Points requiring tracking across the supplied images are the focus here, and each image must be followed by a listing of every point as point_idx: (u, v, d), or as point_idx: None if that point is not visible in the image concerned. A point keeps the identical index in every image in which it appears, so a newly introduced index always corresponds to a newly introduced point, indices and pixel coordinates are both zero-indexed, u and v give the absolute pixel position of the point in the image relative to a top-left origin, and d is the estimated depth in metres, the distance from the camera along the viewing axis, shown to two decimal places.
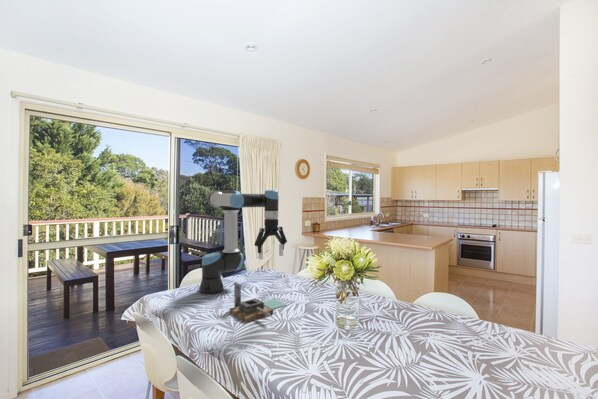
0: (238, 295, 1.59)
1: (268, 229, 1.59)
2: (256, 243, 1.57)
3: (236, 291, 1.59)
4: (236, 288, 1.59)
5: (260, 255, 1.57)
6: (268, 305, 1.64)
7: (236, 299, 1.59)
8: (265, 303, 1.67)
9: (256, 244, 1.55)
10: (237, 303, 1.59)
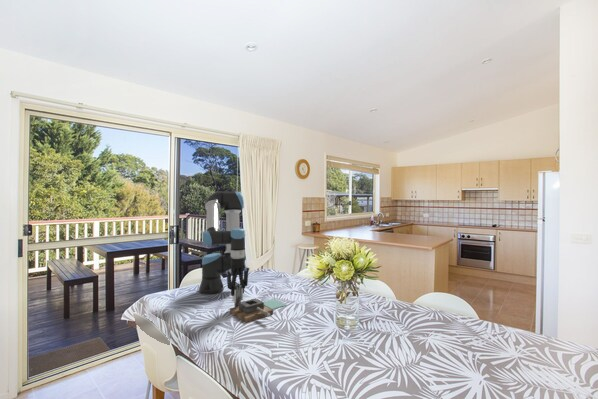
0: (238, 295, 1.59)
1: (234, 269, 1.58)
2: None
3: (236, 291, 1.59)
4: (236, 288, 1.59)
5: (233, 298, 1.59)
6: (268, 305, 1.64)
7: (236, 299, 1.59)
8: (265, 303, 1.67)
9: (229, 288, 1.57)
10: (237, 303, 1.59)
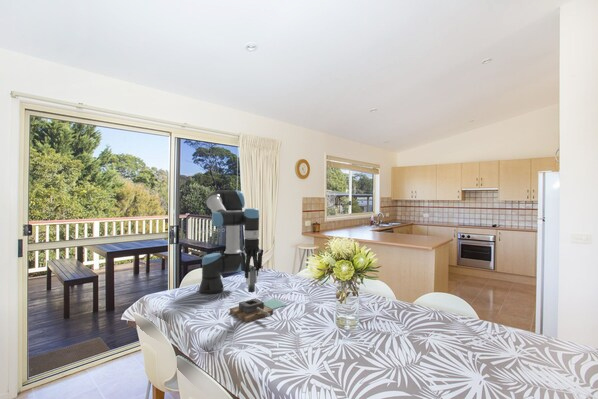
0: (252, 278, 1.52)
1: (248, 250, 1.51)
2: None
3: (250, 273, 1.52)
4: (250, 270, 1.52)
5: (247, 280, 1.52)
6: (268, 305, 1.64)
7: (250, 282, 1.52)
8: (265, 303, 1.67)
9: (243, 270, 1.49)
10: (251, 286, 1.52)
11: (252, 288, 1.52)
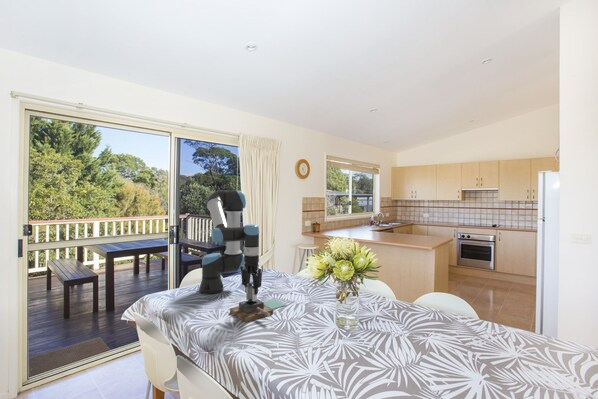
0: (248, 294, 1.52)
1: (246, 265, 1.54)
2: None
3: (248, 289, 1.53)
4: (248, 286, 1.53)
5: None
6: (268, 305, 1.64)
7: (248, 298, 1.53)
8: (265, 303, 1.67)
9: (242, 283, 1.56)
10: (248, 302, 1.53)
11: None
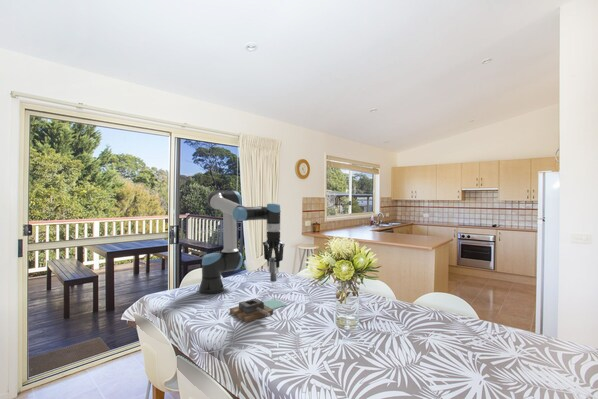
0: (271, 268, 1.65)
1: (268, 241, 1.66)
2: (267, 256, 1.69)
3: None
4: None
5: None
6: (268, 305, 1.64)
7: (270, 271, 1.66)
8: (265, 303, 1.67)
9: None
10: (270, 275, 1.65)
11: (271, 278, 1.65)
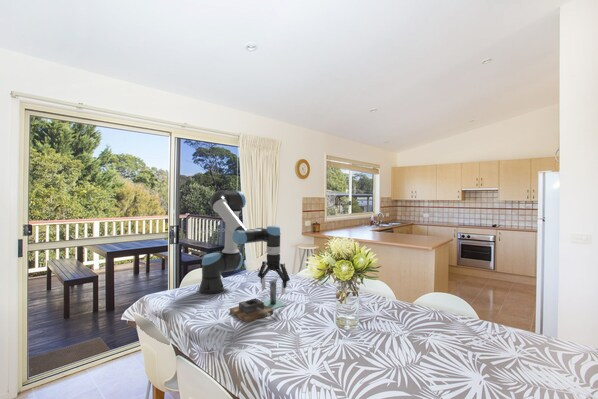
0: (271, 291, 1.65)
1: (268, 263, 1.67)
2: (261, 274, 1.71)
3: (270, 286, 1.66)
4: (270, 284, 1.66)
5: None
6: (268, 305, 1.64)
7: (270, 294, 1.66)
8: (265, 303, 1.67)
9: (258, 274, 1.71)
10: (270, 298, 1.66)
11: (270, 300, 1.65)
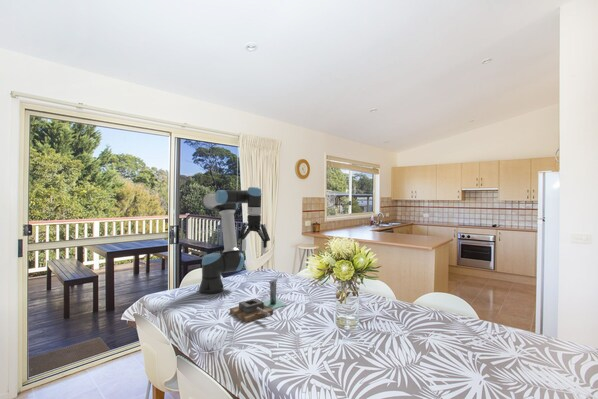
0: (271, 291, 1.65)
1: (249, 224, 1.68)
2: (242, 235, 1.72)
3: (270, 286, 1.66)
4: (270, 284, 1.66)
5: None
6: (268, 305, 1.64)
7: (270, 294, 1.66)
8: (265, 303, 1.67)
9: (238, 236, 1.71)
10: (270, 298, 1.66)
11: (270, 300, 1.65)
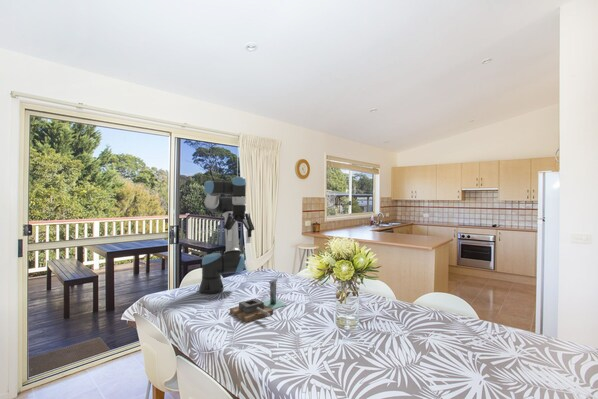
0: (271, 291, 1.65)
1: (234, 214, 1.68)
2: None
3: (270, 286, 1.66)
4: (270, 284, 1.66)
5: None
6: (268, 305, 1.64)
7: (270, 294, 1.66)
8: (265, 303, 1.67)
9: None
10: (270, 298, 1.66)
11: (270, 300, 1.65)
